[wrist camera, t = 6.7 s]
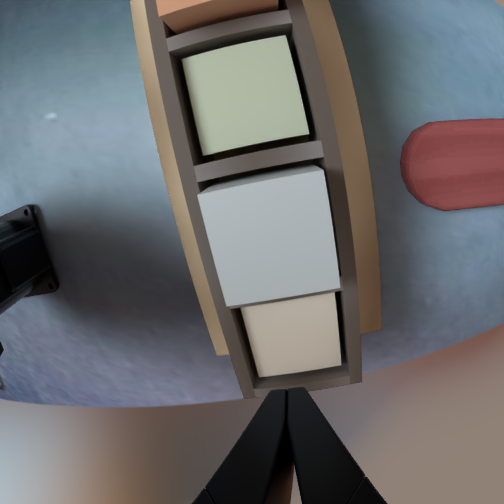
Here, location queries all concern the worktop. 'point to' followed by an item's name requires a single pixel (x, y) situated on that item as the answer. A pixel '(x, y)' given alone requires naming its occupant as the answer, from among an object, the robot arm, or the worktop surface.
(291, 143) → the brown long open box
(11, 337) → the worktop surface
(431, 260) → the worktop surface
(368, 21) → the worktop surface
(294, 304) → the ivory key
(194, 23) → the terracotta key
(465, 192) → the popsicle
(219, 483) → the robot arm
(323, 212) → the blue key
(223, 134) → the sage key
